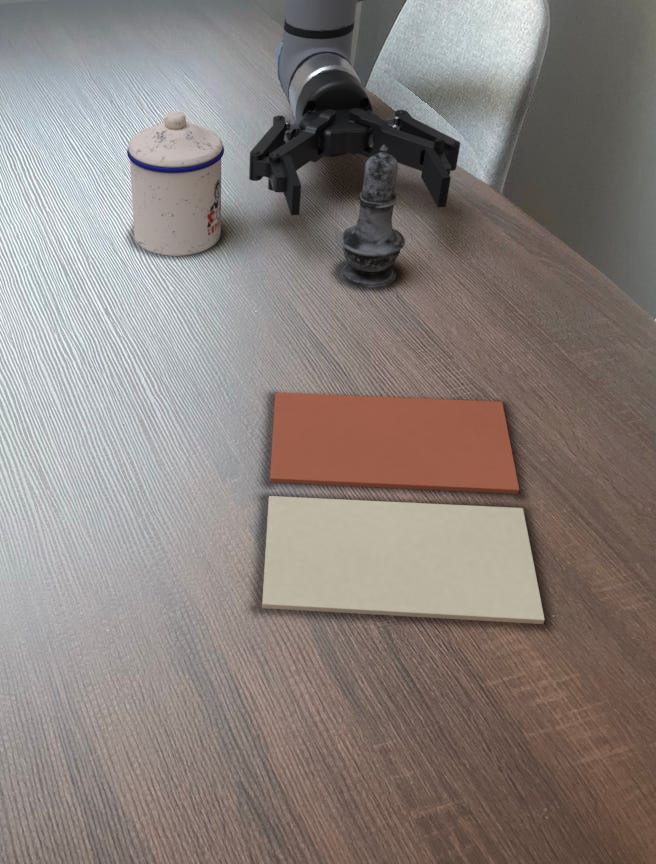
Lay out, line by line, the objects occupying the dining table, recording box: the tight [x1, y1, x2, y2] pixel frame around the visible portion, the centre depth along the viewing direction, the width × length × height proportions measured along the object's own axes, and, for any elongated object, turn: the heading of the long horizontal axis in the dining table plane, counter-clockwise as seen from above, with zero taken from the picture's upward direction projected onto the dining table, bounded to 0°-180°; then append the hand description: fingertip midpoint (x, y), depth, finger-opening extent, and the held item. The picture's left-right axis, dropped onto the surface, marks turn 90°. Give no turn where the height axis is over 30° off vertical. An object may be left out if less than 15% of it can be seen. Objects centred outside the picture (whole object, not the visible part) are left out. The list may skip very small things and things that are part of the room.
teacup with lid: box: [126, 110, 225, 257], centre depth 99 cm, size 12×9×12 cm
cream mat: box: [261, 495, 546, 625], centre depth 70 cm, size 18×11×1 cm, turn 84°
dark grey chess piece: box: [339, 144, 406, 289], centre depth 92 cm, size 6×6×12 cm
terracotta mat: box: [269, 392, 520, 495], centre depth 79 cm, size 18×11×1 cm, turn 84°
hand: (370, 196), depth 93 cm, fingers open, 13 cm apart
